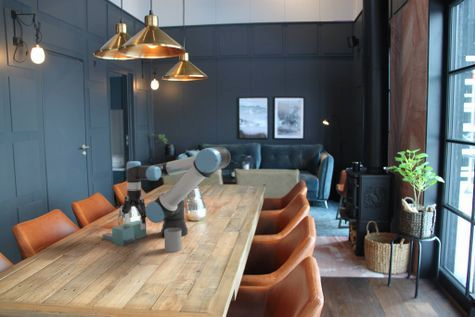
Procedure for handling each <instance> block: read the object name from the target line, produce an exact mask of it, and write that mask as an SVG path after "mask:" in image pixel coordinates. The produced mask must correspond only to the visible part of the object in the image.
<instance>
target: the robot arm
mask: <svg viewBox="0 0 475 317" xmlns="http://www.w3.org/2000/svg"><path fill="white" fill-rule="evenodd" d="M231 158H232V157H231V153H230V151H229V150H228V149H227V148H225V147H224V146H212V147H206V148H203V149H201V150H200V151H198V153H197V154H196V155H193V156H189V157H184V158H179V159H176V160H172V161H168V162H167V161H166V162H163V163H158V164H152V165H142V162H140V161H138V160H135V161H134V160H133V161H127V162H126V189H127V190H126V196H124V202H123V204H122V207H121V212H122V213H123V217H124V224H125V223H129V222H131V221H130V210H131V209H132V207H134V208H135V209H137V212H138V213H139V215H140V217H139V218H140V219H139V221H140V230H143V229H145V223H146V224H147V222H146V218H147V220H149V221H150V222H151V223H155V224H159V223H162V222H163V223H162V228H161V230H160V235H161V236H162V237H164V230H165V229H168V228H180V229H181V237H183V236H187V235H188V233H189V231H188V227H187V223H186V220H185V198H186V197H187V196H188V195H189V194H190V193H191V192H192V191H193V190H194V189H195V188H196V187H197V186H198V185H199V184H200V183H201V182H203V180H204V179H209V178H211V177H212V176H214V175H215V173H216V172H217V171H219V170H222V169H225V168H227V166H228V165H229V164H230V162H231ZM183 173H185V174H184V175H182V176H181V178H179V180H177V181H176V183H174V184H173V185H172V186H171V187H170V189H168V190H167V191H166V193H164V192H162V193H160V195H158V196H157V198H155V199H154V200H151V201H150V202H148V203H147V204H146V203H145V199H144V198H143V199H141V197H142V180H147V181H159V179H160V178H163V177H164V178H166V177H168V176H174V175H179V174H183Z"/></svg>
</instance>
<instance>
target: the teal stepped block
mask: <svg viewBox="0 0 475 317" xmlns="http://www.w3.org/2000/svg"><path fill="white" fill-rule="evenodd" d="M102 240H106V241H109V242H112V244H114V245H118V246H122V247H125V246H128V245H131V244H134V243H135V240H134V227H131V226H127V225H125V224H120V225H115V226H112V227H111V232H107V233H106V232H105V233H103V234H102Z"/></svg>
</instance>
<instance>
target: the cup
mask: <svg viewBox="0 0 475 317" xmlns="http://www.w3.org/2000/svg"><path fill="white" fill-rule="evenodd" d="M163 237H164V251H165V252H167V253H177V252H180V251H182V250H183V248H182V246H183V245H182V244H183V243H182V236H181V229H180V228H168V229H165V230H164V236H163Z"/></svg>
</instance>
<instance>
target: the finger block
mask: <svg viewBox="0 0 475 317" xmlns="http://www.w3.org/2000/svg"><path fill="white" fill-rule="evenodd" d="M124 225H127V226H131V227H134V241H135V240H138V239H141V237H142V238H144V236H145V237H147V222H146V223H145V229H143V230H140V219H139V220H138V219H137V220H133V221H130V222H129V223H125V222H124Z"/></svg>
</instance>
